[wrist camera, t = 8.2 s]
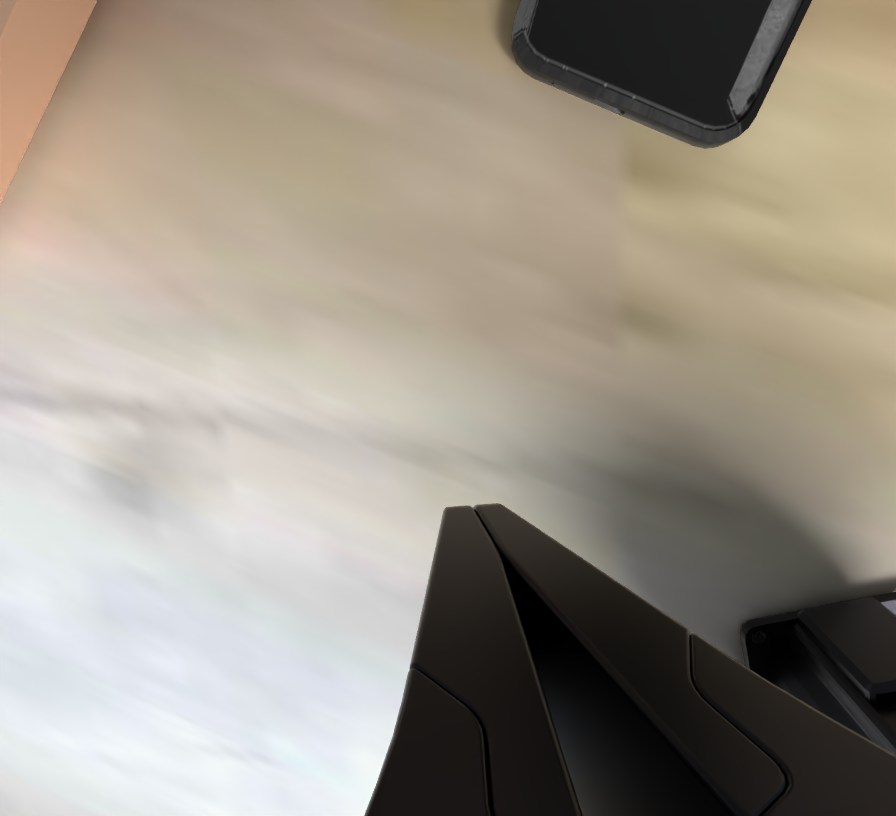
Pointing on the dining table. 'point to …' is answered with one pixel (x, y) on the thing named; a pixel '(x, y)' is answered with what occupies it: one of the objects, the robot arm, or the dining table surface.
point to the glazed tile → (32, 68)
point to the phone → (661, 58)
